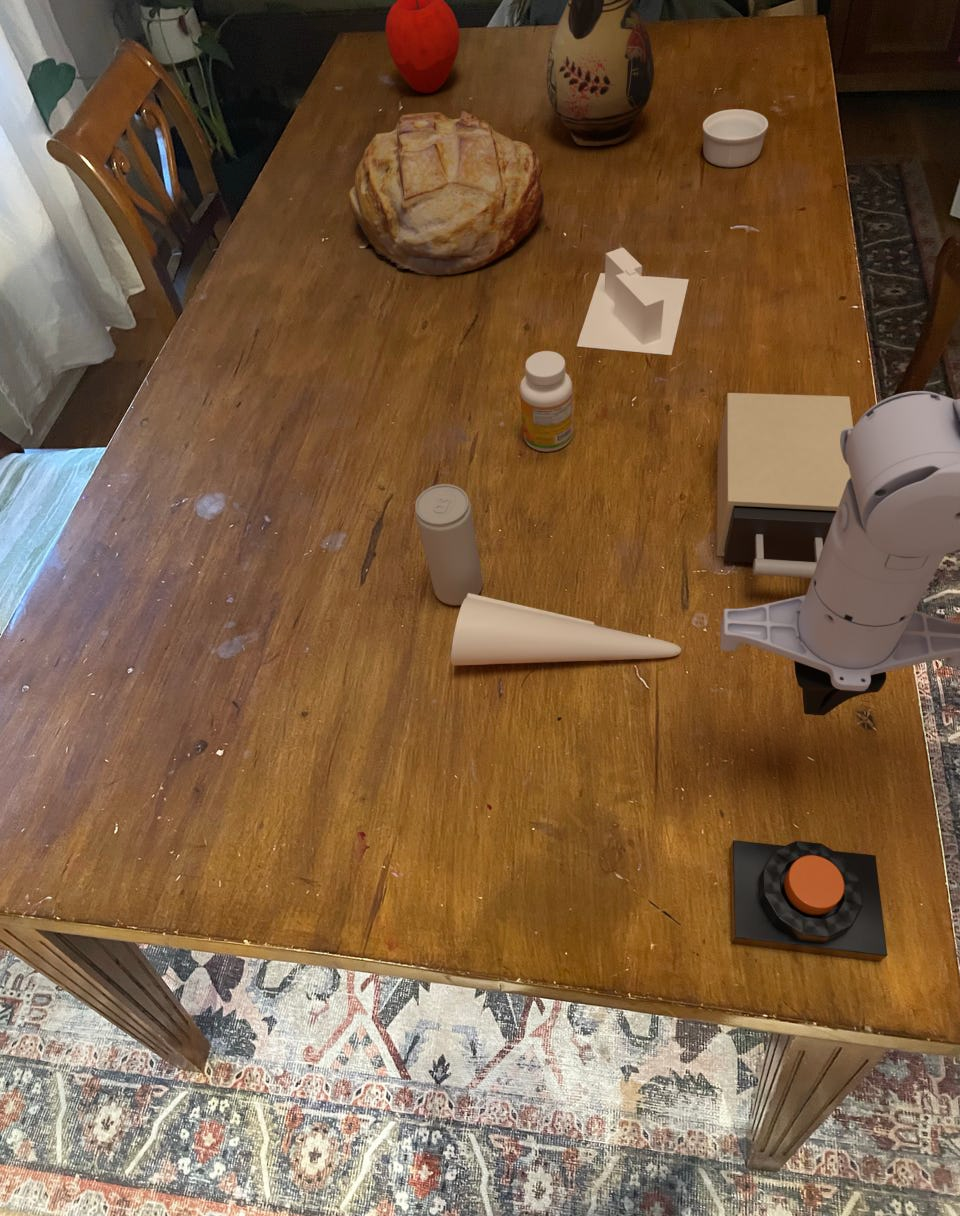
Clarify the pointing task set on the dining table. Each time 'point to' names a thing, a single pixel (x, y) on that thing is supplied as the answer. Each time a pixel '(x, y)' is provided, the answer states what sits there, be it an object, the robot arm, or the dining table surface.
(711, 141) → the ramekin
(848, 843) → the dining table surface
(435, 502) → the beverage can
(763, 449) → the cabinet
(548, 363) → the supplement bottle
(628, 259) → the napkin holder
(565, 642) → the long cone
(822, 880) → the button
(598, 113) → the ceramic jug
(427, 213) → the bread
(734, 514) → the drawer
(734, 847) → the panel
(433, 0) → the apple
